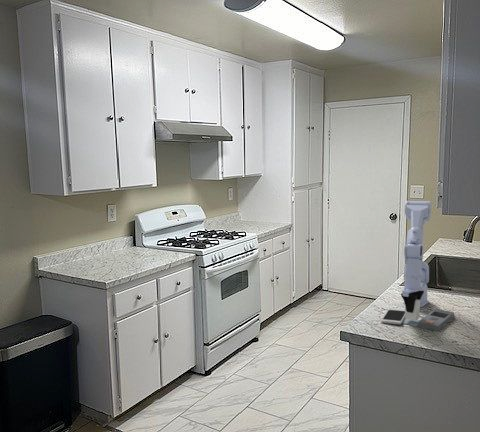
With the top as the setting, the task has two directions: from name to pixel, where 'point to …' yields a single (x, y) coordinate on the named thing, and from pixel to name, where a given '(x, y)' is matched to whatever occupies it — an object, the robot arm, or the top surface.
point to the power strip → (436, 319)
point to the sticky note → (410, 322)
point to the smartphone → (394, 316)
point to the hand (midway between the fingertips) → (412, 310)
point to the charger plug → (415, 314)
